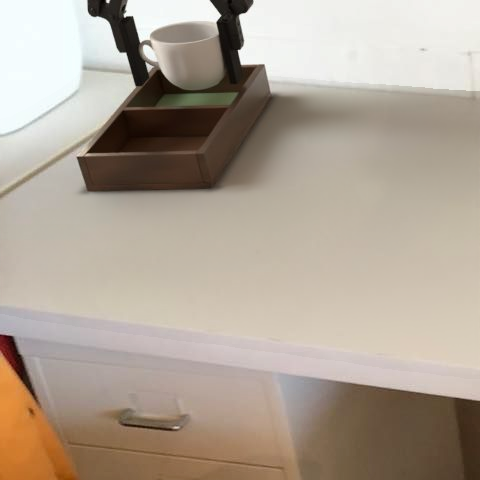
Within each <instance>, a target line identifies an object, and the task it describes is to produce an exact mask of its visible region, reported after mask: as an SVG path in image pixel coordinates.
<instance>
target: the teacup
mask: <svg viewBox="0 0 480 480" xmlns="http://www.w3.org/2000/svg"><path fill="white" fill-rule="evenodd" d="M144 46H148V47H149V48H150V49H151V50H152V51H153V52H154V55H155V58H156V61H154V60H151V59H150V58H148V57H147V55H146V54H145V52H144ZM138 50H139V54H140V57H141V58H142V59H143V60H144V61H145V62H146V64H148V65H149V66H152V68H153V67H156V68H159V69H161V71H162V72H163V74H164V75H165V77H166V78H167V79H168V80H169V81H170V82H171V83H172V84H174V85H176V86H178V87H180V88H182V89H185V90H201V89H206V88H210V87H213V86H215V85H217V84H218V83H219V82H220V81H221V80H222V79H223V78H224V76H225V74H226V72H227V67H226V63H225V58H224V54H223V50H222V45H221V41H220V37H219V32H218V28H217V24H216V22H214V21H210V20H209V21H207V20H191V21H190V20H189V21H181V22H174V23H171V24H167V25H164V26H161V27H158V28H156V29H155V30H153V31H152V32H151V33H150V35H149V39H144V40H142V41H140V44H139V48H138Z"/></svg>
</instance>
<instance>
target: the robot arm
mask: <svg viewBox="0 0 480 480" xmlns="http://www.w3.org/2000/svg"><path fill="white" fill-rule="evenodd" d="M108 1H109V2H108ZM108 1H107V0H86V2H87V3H86V4H87V5H86V6H87V7H86V8H87V9H86V10H87V13H88V15H89V16H90V17H92V18H101V19H103V20H106V21H107V22H108V24H109V26H110V30H111V33H112V37H113V40H114V43H115V48H116V50H117V51H118V52H119V53H120V54H126V57H127V61H128V66H129V68H130V72H131V77H132V78H133V79H132V80H133V84H134V87H136V86H143V85H144V83H145V82H146V81H147V80H148V79H149V78H150V77H149V73H148V72H149V70H148V66H147V63H146V62H145V61H144V60H143V59H142V58H141V57H140V54H139V50H138V48H139V44H140V43H141V39H140V36H139V33H138V29H137V25H136V22H135V17H134V16H133V15H126V16H125V14H126V13H127V9H126V8H127V6H128V5H127V4H128V2H129V0H108ZM209 2H210V3H211V5H212V6H213V7H214V8H215V9H216V11H217V12H218V13H219V15H220V16H219V18H218V19H217V20H216V21H215V23H216V24H217V28H218V32H219V37H220V41H221V45H222V50H223V54H224V58H225V63H226V67H227V71H228V76H229V80H230V84H238V82H239V81H240V80H241V78H242V77H243V71H242V67H241V65H242V63H241V58H240V54H239V51H241V50H242V48H244V45H245V37H244V33H243V28H242V23H241V20H240V15H243V14H247V13H248V11H249V10H250V9H251V8H252V6H253V5H254V2H255V1H254V0H209Z"/></svg>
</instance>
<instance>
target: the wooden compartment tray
mask: <svg viewBox="0 0 480 480" xmlns="http://www.w3.org/2000/svg"><path fill="white" fill-rule="evenodd" d="M241 67H242V71H243V77H242V78H241V80H240V81H239V82H238V84H230V80H229V76H228V71H227V72H226V74H225V76H224V78H223V79H222V80H221V81H220V82H219V83H218V84H217V85H215V86H213V87H210V88H206V89H201V90H185V89H182V88H180V87H178V86H176V85H174V84H172V83H171V82H170V81H169V80H168V79H167V78H166V77H165V75H164V74H163V72H162V71H161V69H159V68H156V67H153V66H152V68H151V69H150V70H148V73H149V77H150V78H149V79H148V80H147V81H146V82H145V83H144V85H143V86H135V88H134V89H133V90H132V91H131V92H130V93H129V95H128V96H127V97H126V98H125V99H124V101H123V102H121V104H120V105H119V106H118V108H116V110H115V111H114V112H113V113H112V114H111V115H110V117H108V119H107V120H106V121H105V123H104V124H103V125H102V126H101V127H100V128H99V130H98V131H97V132H96V133H95V134H94V135H93V137H92V138H91V139H90V140H89V141H88V142H87V144H85V146H84V147H83V148H82V150H81V151H80V152H79V153H78V154H77V156H76V160H77V163H78V166H79V169H80V173H81V175H82V179H83V182H84V184H85V187H86V191H87V192H100V191H103V192H104V191H105V192H106V191H144V190H145V191H146V190H147V191H148V190H151V191H152V190H188V189H189V190H191V189H213V188H214V187H215V186H216V184H217V183H218V181H219V179H220V178H221V176H222V175H223V173H224V171H225V170H226V168H227V166H228V165H229V164H230V161H232V159H233V158H234V155H235V154H236V152H237V151H238V150H239V148H240V146H241V145H242V142H243V141H244V140H245V139H246V136H247V135H248V134H249V132H250V130H251V129H252V127H253V125H254V124H255V122H256V121H257V119H258V117H260V114H261V113H262V111H263V110H264V108H265V106H266V105H267V104H268V102H269V100H270V99H271V97H272V92H271V88H270V83H269V78H268V74H267V70H266V65H265V64H264V63H258V64H255V63H254V64H241Z"/></svg>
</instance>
